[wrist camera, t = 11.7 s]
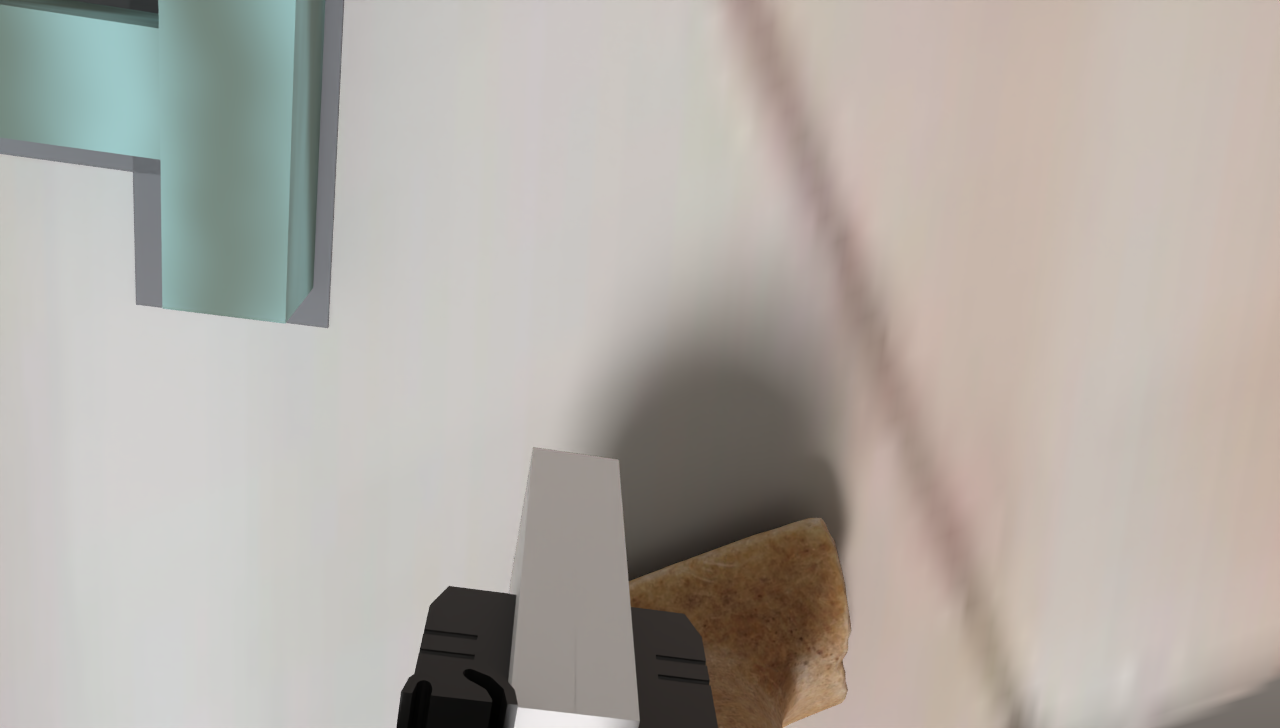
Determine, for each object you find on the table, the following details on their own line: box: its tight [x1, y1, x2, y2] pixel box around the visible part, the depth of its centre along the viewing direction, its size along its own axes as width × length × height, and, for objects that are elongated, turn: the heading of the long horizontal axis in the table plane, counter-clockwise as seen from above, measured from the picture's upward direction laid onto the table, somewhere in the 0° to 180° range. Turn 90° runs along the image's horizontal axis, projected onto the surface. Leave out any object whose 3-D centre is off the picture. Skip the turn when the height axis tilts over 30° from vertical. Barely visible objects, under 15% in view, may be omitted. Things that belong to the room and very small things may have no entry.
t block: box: [0, 0, 325, 323], centre depth 33 cm, size 14×14×4 cm
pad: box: [0, 0, 344, 328], centre depth 35 cm, size 17×17×1 cm
